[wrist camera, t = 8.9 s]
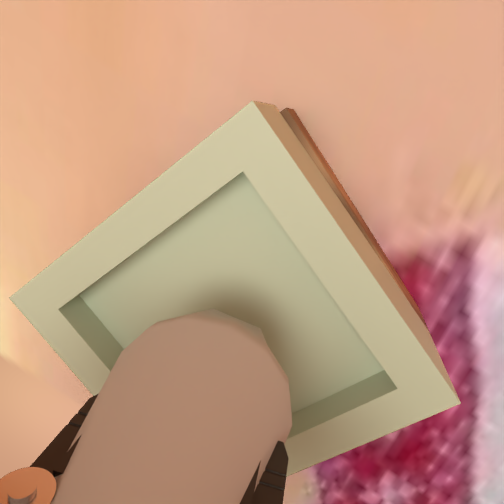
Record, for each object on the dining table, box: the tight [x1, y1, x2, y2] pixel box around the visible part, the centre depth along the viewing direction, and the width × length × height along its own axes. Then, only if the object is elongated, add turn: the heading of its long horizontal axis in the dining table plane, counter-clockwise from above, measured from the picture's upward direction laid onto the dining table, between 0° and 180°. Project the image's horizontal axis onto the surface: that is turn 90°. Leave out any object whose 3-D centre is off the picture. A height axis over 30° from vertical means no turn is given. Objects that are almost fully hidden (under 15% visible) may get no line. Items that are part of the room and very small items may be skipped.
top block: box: [9, 101, 461, 477], centre depth 19 cm, size 13×13×6 cm
